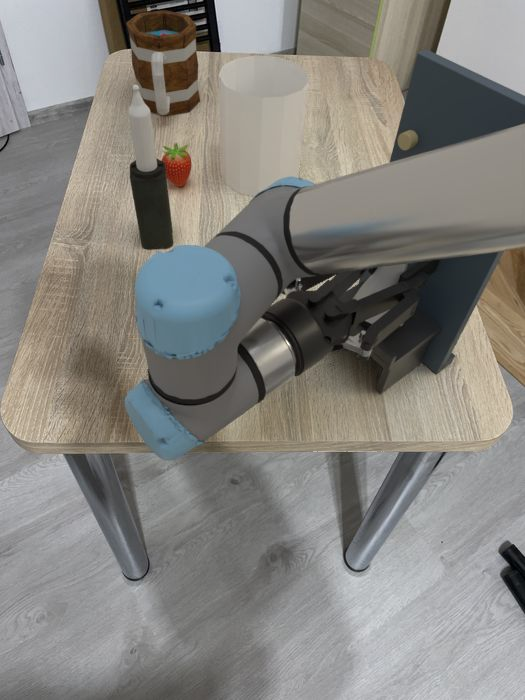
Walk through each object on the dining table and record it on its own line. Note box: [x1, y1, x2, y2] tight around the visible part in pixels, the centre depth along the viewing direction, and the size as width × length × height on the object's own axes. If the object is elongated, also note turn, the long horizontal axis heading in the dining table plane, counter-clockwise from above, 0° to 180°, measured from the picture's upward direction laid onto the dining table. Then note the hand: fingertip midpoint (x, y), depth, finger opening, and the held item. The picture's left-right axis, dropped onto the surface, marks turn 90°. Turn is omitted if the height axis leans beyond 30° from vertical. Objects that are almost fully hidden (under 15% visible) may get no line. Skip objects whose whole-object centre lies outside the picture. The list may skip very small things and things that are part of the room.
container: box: [218, 54, 310, 198], centre depth 93 cm, size 14×14×18 cm
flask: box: [353, 264, 408, 326], centre depth 62 cm, size 7×7×10 cm
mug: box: [125, 9, 201, 117], centre depth 108 cm, size 20×14×15 cm
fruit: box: [161, 141, 193, 187], centre depth 94 cm, size 5×5×8 cm
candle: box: [127, 84, 174, 250], centre depth 78 cm, size 5×5×25 cm
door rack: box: [339, 49, 525, 395], centre depth 61 cm, size 14×16×36 cm
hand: (422, 251), depth 64 cm, fingers closed on flask, 3 cm apart
